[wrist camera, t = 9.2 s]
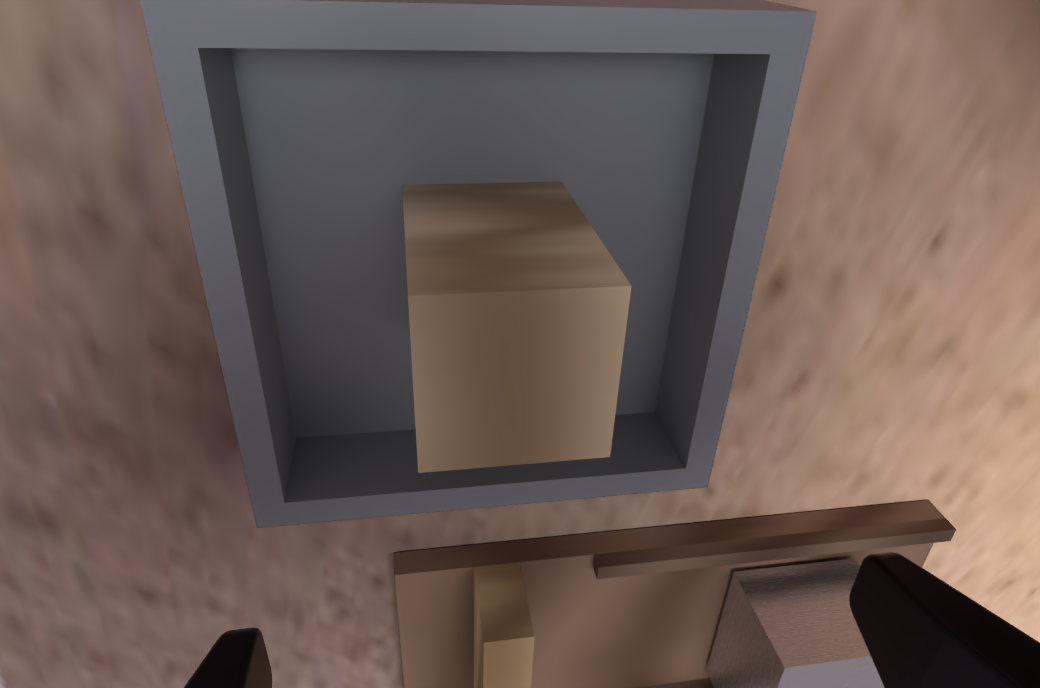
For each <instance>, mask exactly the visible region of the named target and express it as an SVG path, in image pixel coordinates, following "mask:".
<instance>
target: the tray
mask: <svg viewBox="0 0 1040 688" xmlns="http://www.w3.org/2000/svg"><path fill="white" fill-rule="evenodd" d="M140 4H141V8H142V13H143V17H144V22H145V26H146V31H147V35H148V40H149V44H150V49H151V53H152V58H153V62H154V67H155V71H156V76H157V80H158V85H159V89H160V94H161V98H162V103H163V107H164V112H165V116H166V121H167V125H168V130H169V134H170V139H171V143H172V148H173V152H174V157H175V161H176V166H177V170H178V175H179V179H180V184H181V188H182V193H183V197H184V202H185V206H186V211H187V215H188V220H189V224H190V229H191V233H192V238H193V242H194V247H195V251H196V256H197V260H198V265H199V269H200V274H201V278H202V283H203V287H204V292H205V296H206V301H207V305H208V310H209V314H210V319H211V323H212V328H213V332H214V337H215V341H216V346H217V350H218V355H219V359H220V364H221V368H222V373H223V377H224V382H225V386H226V391H227V395H228V400H229V404H230V409H231V413H232V418H233V422H234V427H235V431H236V436H237V440H238V445H239V449H240V454H241V458H242V463H243V467H244V472H245V476H246V481H247V485H248V490H249V494H250V499H251V503H252V508H253V512H254V517H255V521H256V526H257V528H263V527H274V526H285V525H296V524H307V523H318V522H329V521H340V520H351V519H362V518H373V517H384V516H395V515H406V514H417V513H428V512H439V511H450V510H462V509H473V508H484V507H495V506H506V505H517V504H528V503H539V502H550V501H561V500H572V499H583V498H594V497H605V496H616V495H627V494H638V493H649V492H660V491H671V490H682V489H693V488H704V487H708V484H709V479H710V475H711V471H712V466H713V462H714V458H715V453H716V449H717V444H718V440H719V436H720V431H721V427H722V423H723V418H724V414H725V409H726V405H727V401H728V396H729V392H730V388H731V383H732V379H733V374H734V370H735V366H736V361H737V357H738V353H739V348H740V344H741V339H742V335H743V331H744V326H745V322H746V318H747V313H748V309H749V304H750V300H751V296H752V291H753V287H754V283H755V278H756V274H757V270H758V265H759V261H760V256H761V252H762V248H763V243H764V239H765V235H766V230H767V226H768V221H769V217H770V213H771V208H772V204H773V200H774V195H775V191H776V186H777V182H778V178H779V173H780V169H781V165H782V160H783V156H784V151H785V147H786V143H787V138H788V134H789V130H790V125H791V121H792V117H793V112H794V108H795V103H796V99H797V95H798V90H799V86H800V82H801V77H802V73H803V68H804V64H805V60H806V55H807V51H808V47H809V42H810V38H811V33H812V29H813V25H814V20H815V16H816V11H811V10H806V9H802V8H797V7H792V6H787V5H783V4H778V3H773V2H768V1H764V0H140ZM515 182H562V183H563V184H564V186H565V187H566V189H567V190H568V192H569V193H570V195H571V196H572V198H573V199H574V201H575V202H576V204H577V205H578V207H579V208H580V210H581V211H582V213H583V214H584V216H585V217H586V219H587V220H588V222H589V223H590V225H591V226H592V228H593V229H594V231H595V232H596V234H597V235H598V237H599V238H600V240H601V241H602V243H603V244H604V246H605V247H606V249H607V250H608V252H609V253H610V255H611V256H612V258H613V259H614V260H615V262H616V263H617V265H618V266H619V268H620V269H621V271H622V272H623V274H624V275H625V277H626V278H627V280H628V281H629V283H630V284H631V294H630V302H629V310H628V318H627V326H626V334H625V342H624V349H623V357H622V365H621V373H620V381H619V389H618V397H617V405H616V413H615V421H614V429H613V437H612V445H611V453H610V457H604V458H592V459H580V460H568V461H556V462H544V463H532V464H520V465H508V466H496V467H484V468H472V469H460V470H448V471H436V472H424V473H418V461H417V444H416V426H415V409H414V392H413V375H412V357H411V340H410V323H409V305H408V287H407V269H406V250H405V231H404V212H403V194H402V185H418V184H466V183H515Z"/></svg>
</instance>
